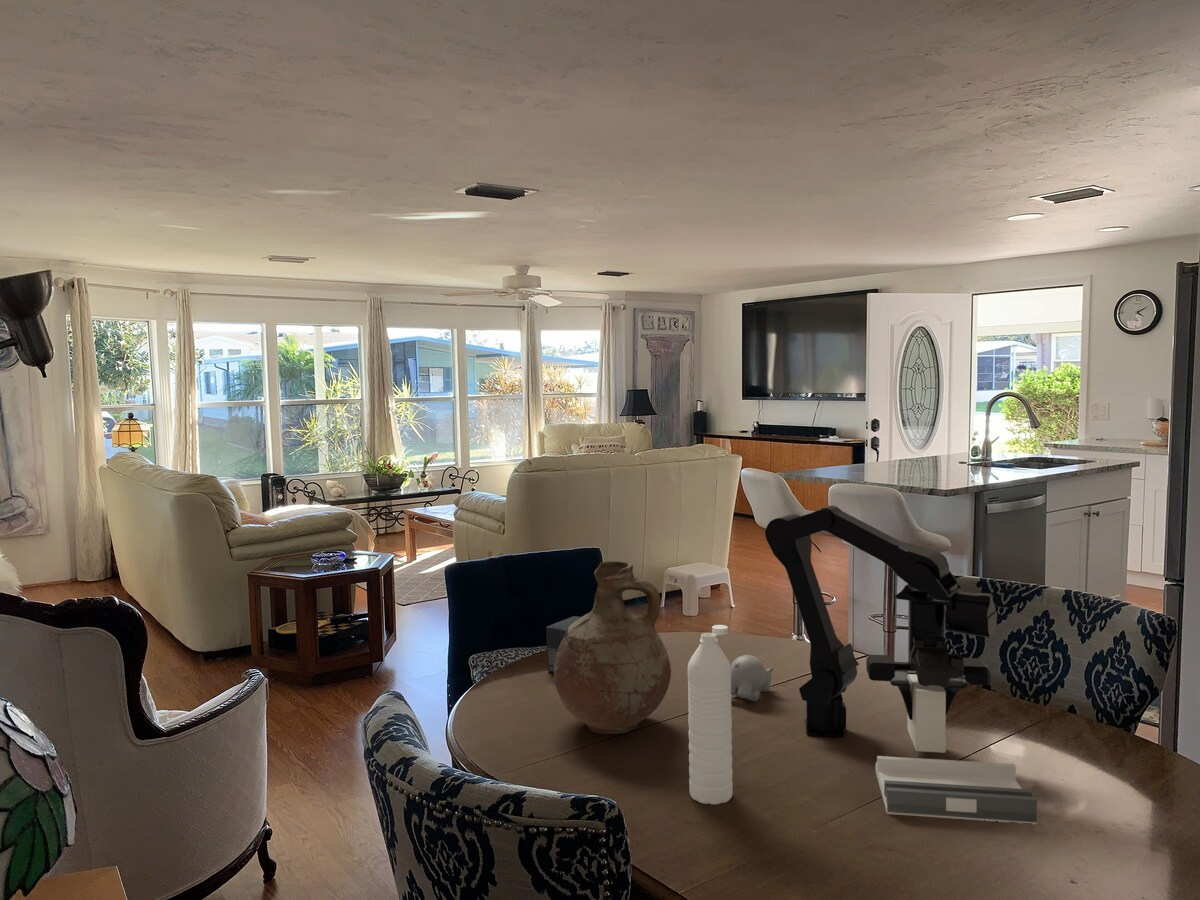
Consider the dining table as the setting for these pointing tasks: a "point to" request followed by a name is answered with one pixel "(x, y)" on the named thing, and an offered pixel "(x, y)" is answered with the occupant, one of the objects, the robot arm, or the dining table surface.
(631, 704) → the jug
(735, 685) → the round bodied animal figurine
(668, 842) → the dining table surface
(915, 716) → the cream carton
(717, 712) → the water bottle
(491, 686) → the dining table surface
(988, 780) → the shelf
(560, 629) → the small box
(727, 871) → the dining table surface
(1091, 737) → the dining table surface
